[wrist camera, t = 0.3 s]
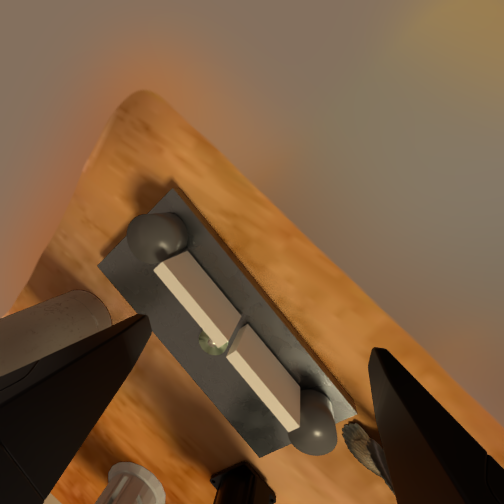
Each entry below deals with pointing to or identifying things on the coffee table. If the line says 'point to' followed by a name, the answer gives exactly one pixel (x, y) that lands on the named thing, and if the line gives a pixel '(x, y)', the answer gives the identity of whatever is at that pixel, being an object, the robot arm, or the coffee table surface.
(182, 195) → the plate
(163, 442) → the coffee table surface
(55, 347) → the thermos bottle
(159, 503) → the french press
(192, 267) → the knob
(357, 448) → the eagle figurine
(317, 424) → the knob
